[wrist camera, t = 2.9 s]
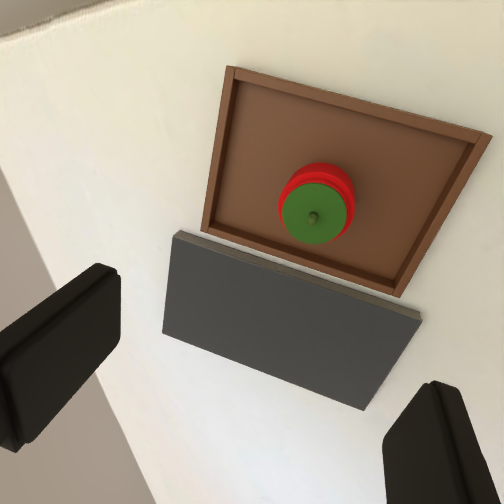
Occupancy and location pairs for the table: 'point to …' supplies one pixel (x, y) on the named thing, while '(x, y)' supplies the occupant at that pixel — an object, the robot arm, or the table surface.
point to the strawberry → (317, 203)
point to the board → (283, 320)
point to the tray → (346, 158)
